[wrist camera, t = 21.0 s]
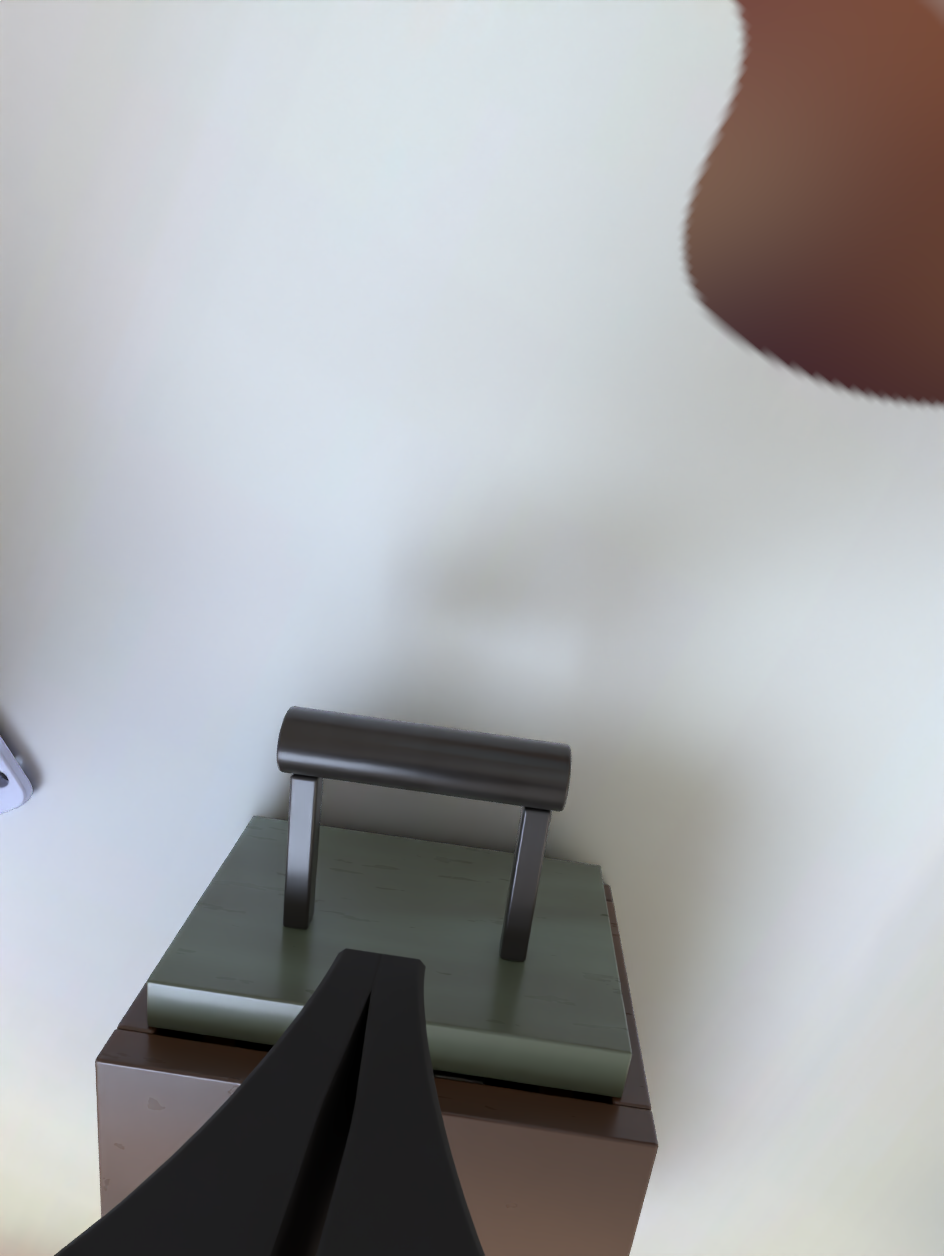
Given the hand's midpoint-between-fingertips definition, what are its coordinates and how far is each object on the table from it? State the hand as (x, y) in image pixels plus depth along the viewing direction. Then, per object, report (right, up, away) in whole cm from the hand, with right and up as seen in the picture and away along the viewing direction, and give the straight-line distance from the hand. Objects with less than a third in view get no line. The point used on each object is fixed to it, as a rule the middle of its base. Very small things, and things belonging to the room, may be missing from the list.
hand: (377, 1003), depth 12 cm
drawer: (0, -3, +10) cm, 10 cm away
